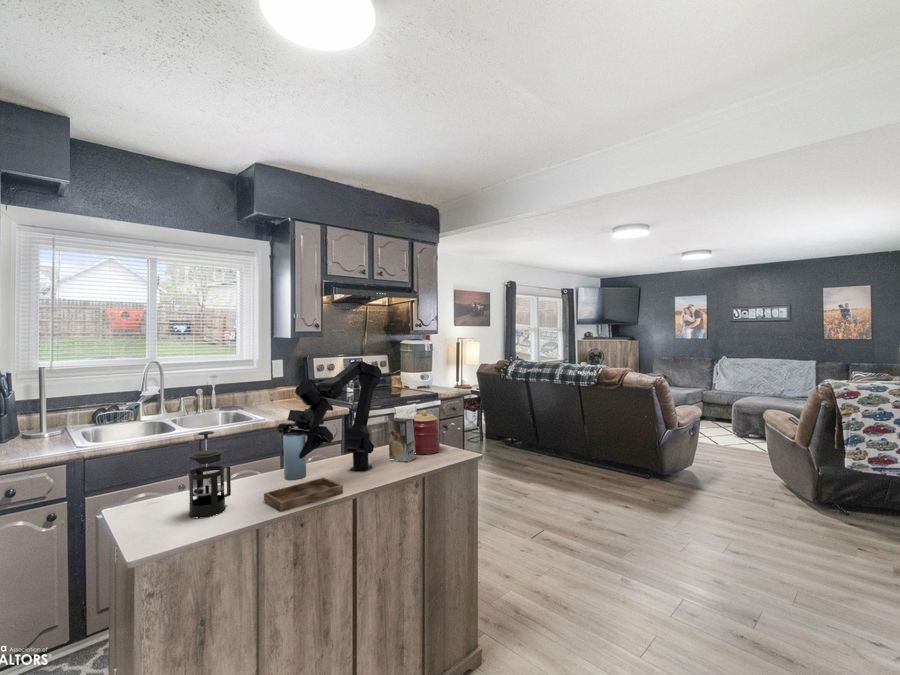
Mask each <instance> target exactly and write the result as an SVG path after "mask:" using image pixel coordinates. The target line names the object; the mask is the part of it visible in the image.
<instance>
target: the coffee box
mask: <svg viewBox="0 0 900 675" xmlns="http://www.w3.org/2000/svg"><path fill="white" fill-rule="evenodd" d="M387 422H388V425H387V427H388V454H389V456H388V457H389V460H390V459H394V460H400V461H399V462H402V461H409V462H411V461H413V460H412V459H414V458H416V454H415V425H414V419H411V418H408V417H407V418H406V417H395V418H391V419H389V420H388V421H387ZM394 460H393V461H394ZM410 460H411V461H410ZM414 460H415V459H414Z"/></svg>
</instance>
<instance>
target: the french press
mask: <svg viewBox="0 0 900 675" xmlns="http://www.w3.org/2000/svg"><path fill="white" fill-rule="evenodd" d="M212 434H215V432H214V431H212V430H210V431H209V430H207V431H201V432H198V433H197V435H198V436H203V439H204V440H205V442H204V443H205V444H204V445H205V449H204V450H198V451H195V452H192V453H189V454H188V455H187V456H188V458H190V459H189V460H190V461H191V462H194V461H196V462H197V463H198V464H199V465H205V466H201V467H197V468H194V469H192V470H190V471H189V472H188V480H189V482H188V483H189V484H188V485H189V486H188V487H189V490H188V491H189V503H188V504H189V505H188V506H189V512H188V516H189V517H190V516H191V517H198V518H197V519H201V518H200V517H206V518H210V516H211V517H214V516H213V515H215V516H217V515H216V514H218V515H220V514H222V513H224V512H225V511H226V510H225V509H227V507H226V499H225V498H227V497H230V496H232V495H231V494H232V489H231V466H230V465H208V464H213V463H217V462H221V461H222V460H223V454H224V453H225V450H224V449H217V448H216V449H208V443H207V442H208V439H209V435H212ZM225 469H226V493H225ZM209 471H215V472H211V473H208V472H209ZM204 472H205V474H204ZM219 476H220V477H219ZM218 477H219V478H220V482H219V483H220V484H218ZM209 479H210V484H208V483H209ZM194 480H195V481H196V488H194V483H193V482H194ZM204 480H206V481H205V483H206V485H204ZM219 493H220V494H219ZM194 497H196V498H195V499H194ZM224 510H225V511H224ZM223 511H224V512H223ZM221 512H222V513H221ZM219 513H220V514H219ZM191 517H190V518H191Z"/></svg>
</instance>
